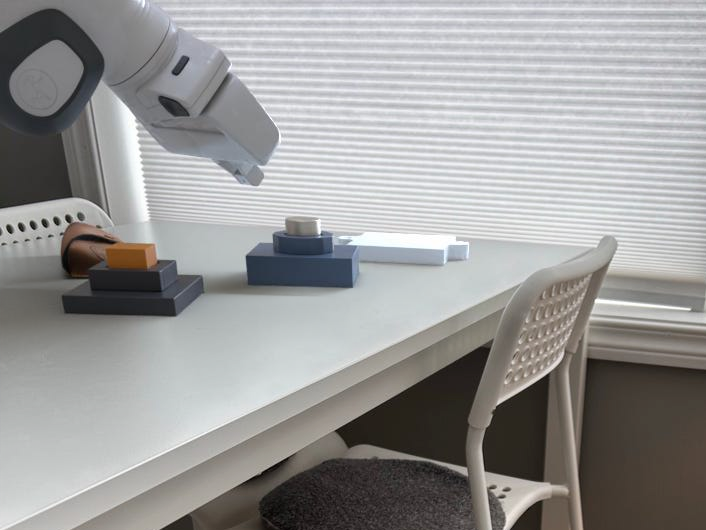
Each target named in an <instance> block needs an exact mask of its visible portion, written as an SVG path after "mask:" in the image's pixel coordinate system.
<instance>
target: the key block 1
mask: <svg viewBox="0 0 706 530" xmlns="http://www.w3.org/2000/svg"><path fill="white" fill-rule="evenodd" d="M88 276H89V278H88V280H86V281H84V282H82V283H81V284H79V285H77V286H76V287H74V288H72V289H70V290H68V291H66V292H65V293H63V294H62V295H61V301H62V307H63V312H64V314H65V315H66V314H67V315H69V314H70V315H71V314H72V315H74V314H75V315H104V316H105V315H107V316H110V315H111V316H143V317H144V316H147V317H177V316H179V315H180V314H181V313H182V312H183V311H184V310H185V309H186V308H188V307H189V306H190V305H192V303H193V302H194V301H196V300H197V299H198V298H199V297H200V296H202V294H205V287H204V278H203V274H178V264H177V260H176V259H157V265H155V266H154V267H152V268H151V269H133V268H108V263H107V259H106V260H104V261H102V262H100V263H99V264H97V265H95V266H93V267H91V268H90V269H88Z"/></svg>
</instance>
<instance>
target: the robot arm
mask: <svg viewBox="0 0 706 530" xmlns="http://www.w3.org/2000/svg"><path fill="white" fill-rule="evenodd" d="M232 67H233V63H232V61H231V60H230V58H229V57H228V56H227V55H226V53H225V52H224V51H223V50H222V49H221V48H219V47H218V46H216V45H213V44H211V43H209V42H206V41H204V40H202V39H199V38H198V37H195V36H193V35H192V34H190V33H189V32H188V31H187V30H185V29H184V28H182V27H179V26H178V24H177V23H175V21H174V20H173V19H172V17H171V16H170V15H169V14H168V13H167V12H166V10H165V9H163V8H162V7H161V6H160V5H158V4H157V3H155V2H154V1H153V0H0V123H1V124H3V125H4V126H5V127H6V128H8V129H10V130H12V131H14V132H16V133H18V134H21V135H24V136H27V137H32V138H33V137H34V138H48V137H54V136H56V135H59V134H62V133H63V132H65V131H66V130H68V129H69V128H71V127H72V125H73V124H75V122H76V121H77V119H78V118H79V117H80V115H81V114H82V112H83V111H84V110H85V108H86V106H87V105H88V104H89V101H90V100H91V98H92V97H93V95H94V94H95V91H96V90H97V88H98V86H99V84H100V82H101V81H102V82H103V84H105V85H106V87H108V88H109V89H110V90H111V92H113V93H114V95H115V96H116V97H117V98H118V99H119V100H120V101H121V102H122V103H123V104H124V105H125V106H126V107H127V108H128V109H129V111H130V113H131V114H132V115H133V116H134V117H135V119H136V120H137V121H138V122H139V123H140V124H141V126H142V127H143V128H144V129H145V130H146V131H147V133H148V134H149V135H150V136H151V137H152V138H153V139H154V141H156V143H157V144H158V145H159V146H161V147H162V148H163V149H164V150H166V151H167V152H169V153H171V154H175V155H181V156H189V157H195V158H203V159H210V160H212V162H213V163H215V164H216V165H217V166H219V167H220V168H221V169H223V170H225V171H226V172H227V173H229V174H231V175H232V177H233V178H234V179H235V180H236V181H237V182H238V183H239V184H240V185H246V186H250V187H251V186H252V187H259V186H260V185H261V183H262V182H263V181H264V179H265V173H264V172H263V170H262V169H261V168H260V167H261V166H262V167H264V166H266V165H267V164H268V163H269V162H270V161H271V160H272V158H273V156H274V155H275V154H276V152H277V150H279V147H280V146H281V144H282V136H281V132H280V129H279V127H278V126H277V124H276V122H275V121H274V120H273V118H272V117H271V115H270V114H269V113H268V112H267V110H266V109H265V107H264V106H263V105H262V103H261V102H260V101H259V100H258V98H257V97H256V96H255V95H254V94H253V92H252V91H251V89H249V87H248V86H247V85H246V84H245V82H243V81H242V80H241V79H240V78H239V77H237V75H235V74H234V73H232V72H230V70H231V68H232Z"/></svg>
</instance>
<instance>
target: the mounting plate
mask: <svg viewBox="0 0 706 530" xmlns="http://www.w3.org/2000/svg"><path fill="white" fill-rule="evenodd" d="M337 245H355V246H358V249H359V260H362V261H361V262H375V261H377V263H399V264H417V265H436V266H445V264H446V263H447V262H448V261H451V260H452V261H453V260H459V261H465V260H468V259H469V251H470V249H469V248H470V242H468V241H459V240H458V241H457V239H456V236H455V235H437V234H419V233H418V234H417V233H400V232H399V233H397V232H396V233H395V232H377V231H375V232H374V231H365V232H364V233H362V234H360V235H340V236H338V237H337Z"/></svg>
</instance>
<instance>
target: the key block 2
mask: <svg viewBox="0 0 706 530" xmlns="http://www.w3.org/2000/svg"><path fill="white" fill-rule="evenodd" d="M320 232H321V236H312V237H298V236H288V235H286V229H284V230H279V231H274V232H273V233H272V242H258V244H256V245H255V246H254V247H253V248H252V249H251V250H250V251H249V252H248V253H246V254H245V255H244V256H245V267H246V268H245V269H246V279H247V285H248V286H271V285H275V287H276V286H277V287H278V286H279V287H306V288H307V287H310V288H344V289H345V288H347V289H353V288H354V286H355V284H356V282H357V279H358V277H359V275H360V261H359V249H358V246H355V245H338V244H335V235H334V233H332V232H329V231H326V230H320Z"/></svg>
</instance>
